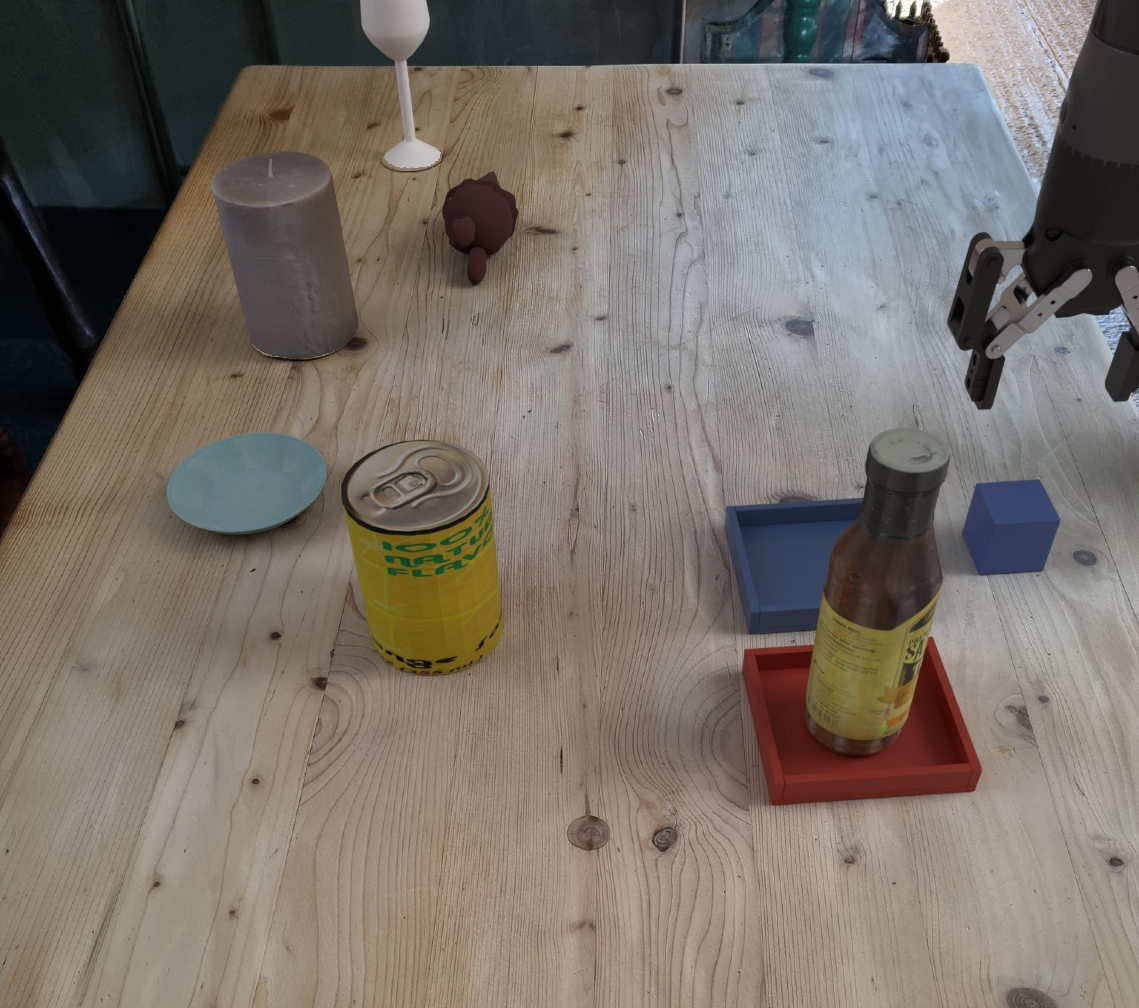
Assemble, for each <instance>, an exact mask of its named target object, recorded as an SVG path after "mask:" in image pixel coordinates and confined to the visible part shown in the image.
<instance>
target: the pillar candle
mask: <svg viewBox="0 0 1139 1008" xmlns="http://www.w3.org/2000/svg"><path fill="white" fill-rule="evenodd" d="M209 189H210V191H211V192H212V194H213V197H214V202H215V205H216V210H217V213H218V219H219V221H220V222H219V223H220V226H221V230H222V235H223V238H224V243H225V246H226V250H227V256H228V259H229V262H230V266H231V270H232V275H233V279H234V283H235V287H236V291H237V295H238V298H239V303H240V308H241V312H242V315H243V320H244V324H245V326H246V332H247V336H248V339H249V341H250V344H251V343H252V344H253V345H254V346H255V347H256V348H257V349H259V350H260V351H262V352H264V353H267V354H270V355H272V356H279V357H284V358H283V359H287V358H292V359H291V360H296V359H300V358H311V357H315V356H321V355H323V354H327V353H331V352H333V351H336V350H337V349H339V348H341V347H342V346H343V345H345V346H347V345H348V344H349V343H348V341H350V339H352V338H353V339H354V337H355V336H356V334H357V331H358V328H359V318H358V314H357V307H356V306H357V305H356V301H355V294H354V288H353V284H352V279H351V272H350V266H349V260H348V255H347V250H346V245H345V239H344V234H343V228H342V223H341V216H340V210H339V205H338V201H337V195H336V190H335V185H334V177H333V174H332V170H331V167H330V166H329V165H328V163H327V162H326V161H325V160H324V159H322V158H320V157H318V156H316V155H313V154H311V153H307V152H306V153H305V152H301V151H291V150H290V151H289V150H277V151H276V150H273V151H263V152H258V153H252V154H249V155H246V156H244V157H243V156H242V157H240V158H238V159H235V160H233V161H231V162H228V163H226V164H225V165H224V166H223V167H222V168H220V169H219V170H218V171H217V172H216V173H215V175H214V176H213V177H212V181H211V185H210V187H209ZM356 330H357V331H356ZM355 333H356V334H355ZM354 335H355V336H354ZM353 336H354V337H353ZM353 339H352V340H353ZM350 342H351V341H350ZM347 343H348V344H347ZM252 344H251V345H252ZM341 349H342V348H341ZM285 357H286V358H285ZM295 358H296V359H295Z"/></svg>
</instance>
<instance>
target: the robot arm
mask: <svg viewBox="0 0 1139 1008" xmlns="http://www.w3.org/2000/svg"><path fill="white" fill-rule="evenodd" d="M969 241H970V242H969V244H968V248H967V252H966V255H965V259H964V261H963V265H962V269H961V272H960V274H959V275H960V276H959V278H958V282H957V285H956V289H955V292H954V296H953V299H952V303H951V305H950V309H949V313H948V316H947V319H946V325H947V327H948V329H949V331H950V333H951V335H952V337H953V339H954V341H955V344H956V345H957V347H958V348H959V350H960V351H964V352H967V351H971V354H970V357H969V362H968V366H967V370H966V374H965V378H964V387H965V390H966V392H967V394H968V397H969V398H970V400H971V402H973V403H974V405H975V407H976V409H977V410H978V411H987V410H988V411H989V410H991V409H993V406H994V404H995V403H994V402H995V399H996V395H997V393H998V392H997V391H998V389H999V384H1000V381H1001V378H1002V373H1003V370H1004V367H1005V363H1006V356H1005V355H1004V354H1005V353H1007V351H1008V350H1010V348H1012V347H1013V346H1014V345H1015V344H1016V343H1017V342H1018V341H1019V340H1020V339H1021V338H1022V337H1023V336H1025V335H1026V334H1028V335H1030V334H1033V333H1035V332H1036V331H1037V330H1038V329H1040V327H1041V326H1042V325H1043V324H1044V323H1045V322H1047V320H1049V319H1050V318H1051V317H1052V316H1053V315H1054V317H1055V318H1056V319H1065V318H1073V317H1075V316H1080V315H1083V314H1085V315H1086V314H1087V315H1091V316H1095V317H1098V316H1109V315H1110V313H1111V312H1112V311H1113V310H1116V309H1117V308H1119V307H1120V309H1121V311H1122V312H1123V315H1124V317H1125V318H1126V321H1127V323H1128V325H1129V326H1130V327H1129V329H1128V330H1127V331H1125V330H1124V331H1121V334H1120V335H1119V340H1118V342H1117V344H1116V348H1115V351H1114V354H1113V356H1112V359H1111V362H1110V365H1109V367H1108V371H1107V373H1106V377H1105V379H1104V388H1105V390H1106V392H1107V393H1108V395H1109V397H1110V399H1111V400H1112V402H1114V403H1121V402H1123V403H1125V402H1128V401H1129V400H1130V397H1131V394H1132V393H1136V392H1137V391H1138V390H1139V0H1096V1H1095V6H1094V9H1093V13H1092V16H1091V21H1090V24H1089V26H1088V30H1087V33H1086V36H1085V39H1084V41H1083V44H1082V45H1081V49H1080V51H1079V53H1078V56H1077V58H1076V61H1075V63H1074V66H1073V68H1072V72H1071V75H1070V78H1069V82H1068V85H1067V89H1066V93H1065V96H1064V98H1063V100H1062V102H1061V104H1060V107H1059V111H1058V122H1057V125H1056V129H1055V133H1054V137H1053V141H1052V144H1051V148H1050V152H1049V156H1048V160H1047V163H1046V167H1045V170H1044V174H1043V178H1042V182H1041V184H1040V189H1039V193H1038V196H1037V200H1036V205H1035V211H1034V218H1033V221H1032V224H1031V225H1030V228H1028V230H1027V232H1026V233H1025V235H1024V236H1023V237H1022V238H1021V240H994V239H993V237H992V236H991V235H990V234H989V232H986V231H980V232H977V233H976V234H974V235H973V236H972V237H971V239H970V240H969ZM1017 266H1020V267H1021V269H1022V272H1021V273H1019V275H1018V276H1017V277H1016V278H1015V279H1013V281H1011V283H1010V284H1008V285H1007V287H1005V289H1004V290H1003V291H1002V292H1001V294H1000V297H999V301H998V302H997V303H996V304H995V305H994V307H992V308H991V309H990V307H991V304H992V300H993V297H994V295H995V291H996V289H997V285H1002V284H1004V283H1005V282H1006V279H1007V276H1008V274H1009V272H1010V271H1011V270H1012V269H1014V268H1015V267H1017ZM1032 294H1034V296H1035V297H1036V299H1035V300H1034V301H1033V302H1032V303H1031V304H1030V305H1029V306H1028V305H1027V301H1028V299H1029V297H1030V296H1031V295H1032Z"/></svg>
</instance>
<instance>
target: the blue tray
mask: <svg viewBox="0 0 1139 1008" xmlns="http://www.w3.org/2000/svg"><path fill="white" fill-rule="evenodd" d="M862 501H863V497H855V498H854V497H853V498H838V499H822V500H808V501H807V500H806V501H792V502H774V503H760V504H759V503H758V504H745V505H744V504H743V505H742V504H741V505H726V506H725V516H724V527H723V528H724V532H725V533H724V534H725V537H726V541H727V546H728V550H729V554H730V559H731V563H732V567H733V571H734V576H735V580H736V585H737V589H738V593H739V598H740V602H741V606H742V610H743V615H744V619H745V623H746V627H747V632H748V635H759V634H773V633H788V632H789V633H791V632H803V631H804V632H805V631H816V629H817V623H818V617H819V611H820V605H821V599H822V593H823V588H824V585H825V582H826V580H827V577H828V571H829V561H830V556H831V552H832V549H833V547H834V544H835V543H836V541H837V539H838V538H839V536H840V535H841V534H842V533H843V531H844V530H845V529H846V528H847V527H848V526H849V525H850V524H852V523H853V521H855V520H856V519H857V518H859V517H860V516H859V506H860V504H861V502H862Z"/></svg>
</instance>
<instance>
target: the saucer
mask: <svg viewBox="0 0 1139 1008" xmlns="http://www.w3.org/2000/svg"><path fill="white" fill-rule="evenodd" d="M326 481H327V465H326V462H325V459H324V457H323V456H322V454H321V453H320V451H318V449H316V448H315V447H314V446H312V445H311V444H310V443H309V442H307V441H305V440H303V439H301V438H298V437H296V436H292V435H289V434H285V433H278V432H267V431H259V432H248V433H241V434H236V435H232V436H227V437H224V438H221V439H218V440H215V441H212V442H210V443H208V444H206V445H204V446H202V447H200V448H198V449H196V450H195V451H193V452H192V453H190V454H189V455H188V456H187V457H185V458H184V459H183V460H182V461H181V462H180V463H179V464H178V465H177V466H176V468H175V469H174V470H173V472H172V473H171V475H170V477H169V479H168V483H167V487H166V499H167V503H168V505H169V507H170V509H171V510H172V512H173V513H174V514H175V515H176V516H177V517H178V518H180V519H181V520H182V521H184V522H186V523H187V524H189V525H191V526H194V527H195V528H199V529H201V530H204V531H208V532H212V533H216V534H217V533H218V534H223V535H233V536H234V535H235V536H237V535H238V536H240V535H253V534H259V533H263V532H266V531H271V530H273V529H275V528H278V527H280V526H283V525H284V524H286V523H288V522H289V521H292V520H293V519H294V518H296V517H297V516H299V515H301V513H302V512H304V511H305V510H306V509H307V508H309V506H311V504H313V502H314V501H316V499H317V498H318V496H319V495H320V494H321V492H322V490H323V488H324V486H325V483H326Z"/></svg>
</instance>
